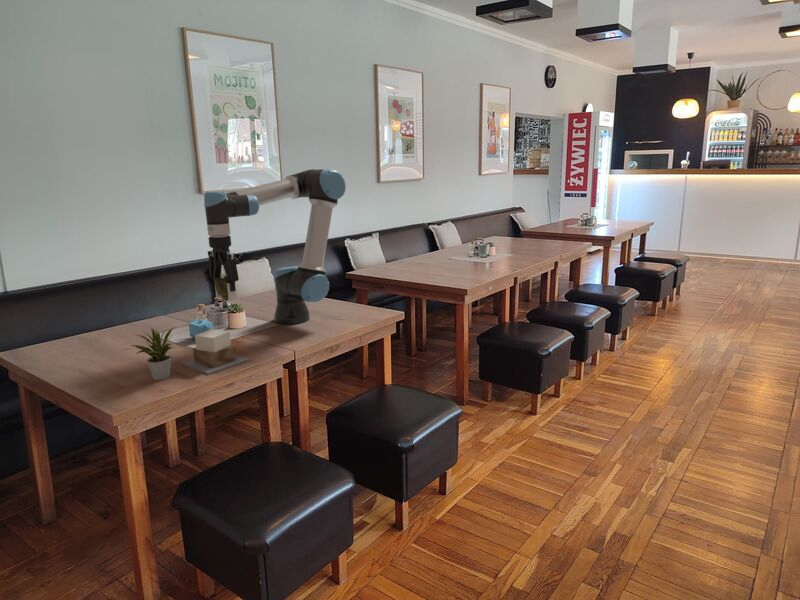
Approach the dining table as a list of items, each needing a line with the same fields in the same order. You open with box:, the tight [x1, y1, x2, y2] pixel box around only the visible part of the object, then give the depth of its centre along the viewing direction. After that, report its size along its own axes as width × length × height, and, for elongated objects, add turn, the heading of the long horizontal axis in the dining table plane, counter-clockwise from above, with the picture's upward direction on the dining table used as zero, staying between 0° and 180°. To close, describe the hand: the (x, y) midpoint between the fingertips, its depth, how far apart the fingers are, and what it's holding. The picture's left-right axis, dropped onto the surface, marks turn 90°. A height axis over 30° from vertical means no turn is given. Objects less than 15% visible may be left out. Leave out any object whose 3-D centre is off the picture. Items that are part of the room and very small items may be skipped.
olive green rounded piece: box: [213, 275, 229, 301], centre depth 205 cm, size 8×7×8 cm
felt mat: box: [181, 354, 250, 376], centre depth 194 cm, size 16×16×1 cm
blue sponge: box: [188, 318, 214, 340], centre depth 221 cm, size 12×6×8 cm, turn 50°
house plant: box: [130, 326, 177, 381], centre depth 182 cm, size 14×14×16 cm
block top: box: [194, 328, 232, 352], centre depth 192 cm, size 8×8×5 cm
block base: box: [192, 344, 237, 368], centre depth 193 cm, size 10×10×5 cm
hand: (226, 298), depth 205 cm, fingers closed on olive green rounded piece, 7 cm apart
